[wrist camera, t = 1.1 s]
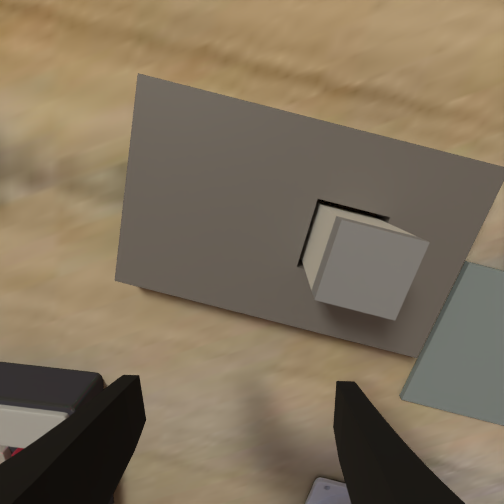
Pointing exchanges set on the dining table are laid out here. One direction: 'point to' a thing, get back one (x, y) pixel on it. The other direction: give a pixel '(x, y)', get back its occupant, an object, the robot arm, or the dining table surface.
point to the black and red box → (39, 402)
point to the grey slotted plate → (284, 209)
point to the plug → (360, 261)
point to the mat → (465, 350)
